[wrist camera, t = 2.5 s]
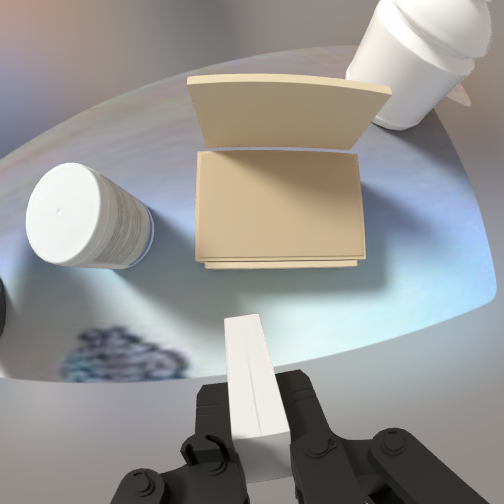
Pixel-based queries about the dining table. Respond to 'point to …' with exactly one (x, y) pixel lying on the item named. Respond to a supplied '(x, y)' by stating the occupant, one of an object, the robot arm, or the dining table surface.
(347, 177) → the carton
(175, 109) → the dining table surface
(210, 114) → the flap
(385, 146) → the dining table surface
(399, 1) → the bottle
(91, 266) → the supplement tub
